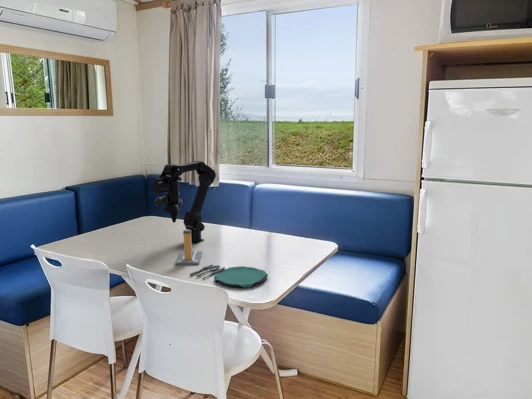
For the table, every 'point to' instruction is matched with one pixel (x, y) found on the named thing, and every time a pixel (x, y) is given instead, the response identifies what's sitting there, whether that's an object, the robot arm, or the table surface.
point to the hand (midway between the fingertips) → (174, 222)
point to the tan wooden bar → (187, 245)
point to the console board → (195, 260)
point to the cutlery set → (235, 275)
